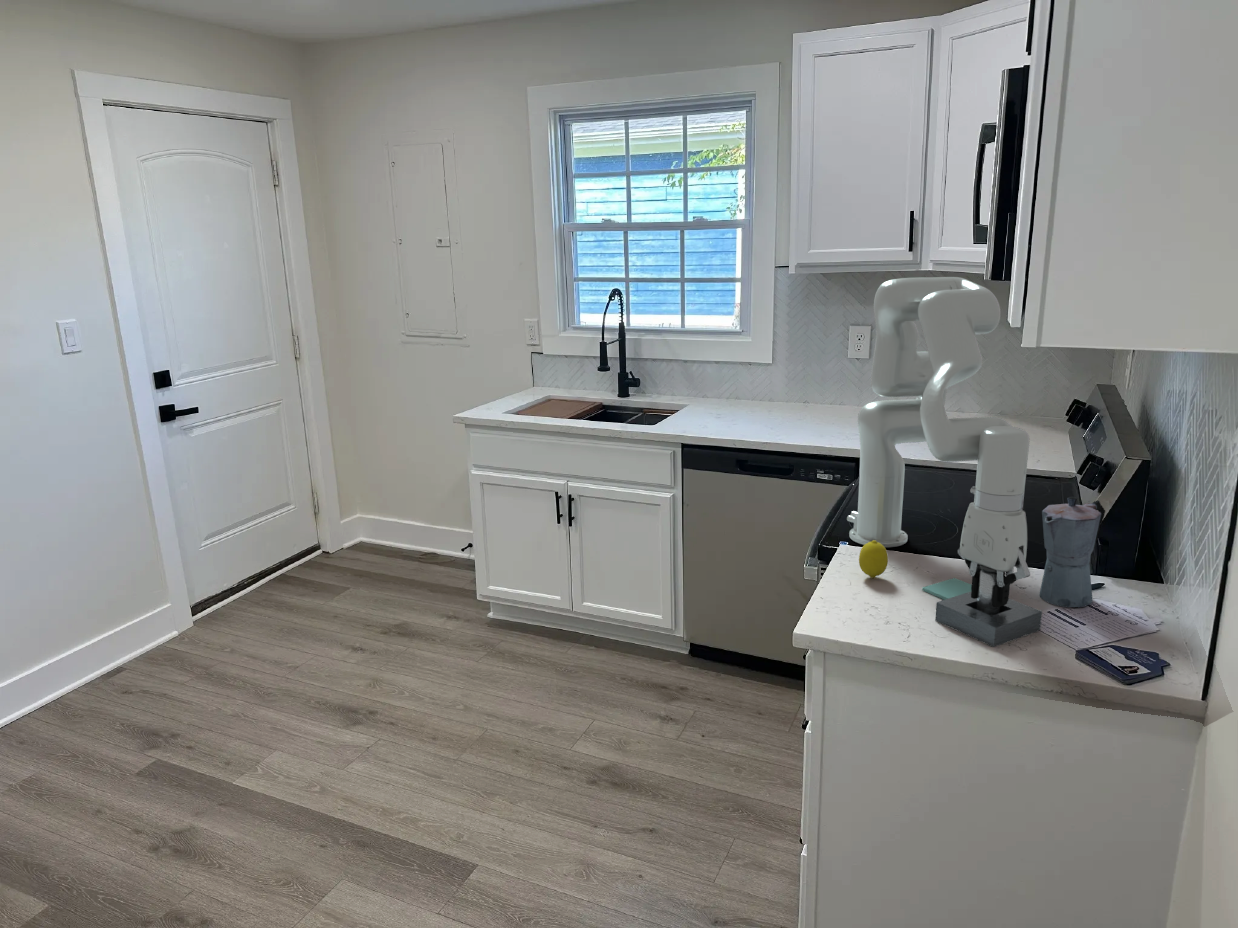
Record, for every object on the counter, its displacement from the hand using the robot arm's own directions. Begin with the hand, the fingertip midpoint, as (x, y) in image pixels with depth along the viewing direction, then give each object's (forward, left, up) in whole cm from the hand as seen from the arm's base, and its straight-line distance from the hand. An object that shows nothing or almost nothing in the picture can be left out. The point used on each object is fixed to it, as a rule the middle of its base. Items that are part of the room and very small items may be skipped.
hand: (988, 599), depth 146 cm
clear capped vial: (0, 0, -3) cm, 3 cm away
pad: (-12, +7, -5) cm, 15 cm away
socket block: (0, 0, -5) cm, 5 cm away
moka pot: (0, +22, -5) cm, 23 cm away
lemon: (-26, -1, -5) cm, 26 cm away
